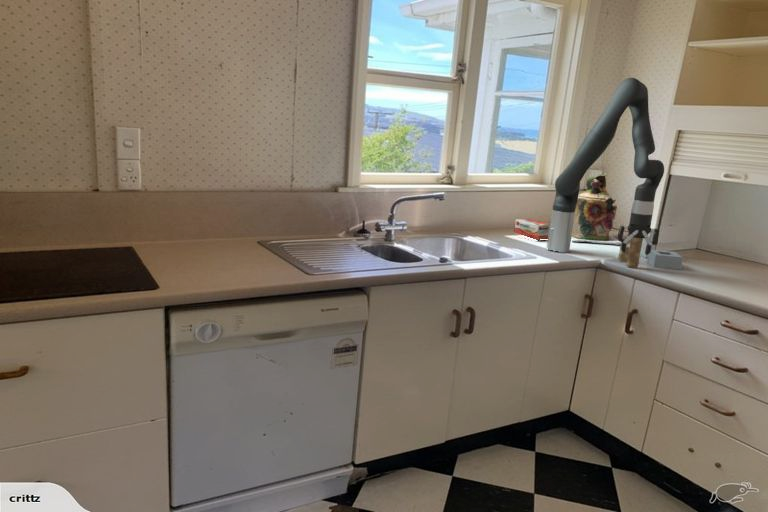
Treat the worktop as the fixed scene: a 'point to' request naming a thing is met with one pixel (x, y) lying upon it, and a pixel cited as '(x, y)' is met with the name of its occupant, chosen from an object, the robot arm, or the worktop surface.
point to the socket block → (665, 259)
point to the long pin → (634, 252)
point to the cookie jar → (594, 213)
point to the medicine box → (532, 228)
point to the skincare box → (644, 243)
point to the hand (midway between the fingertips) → (635, 253)
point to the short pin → (623, 255)
